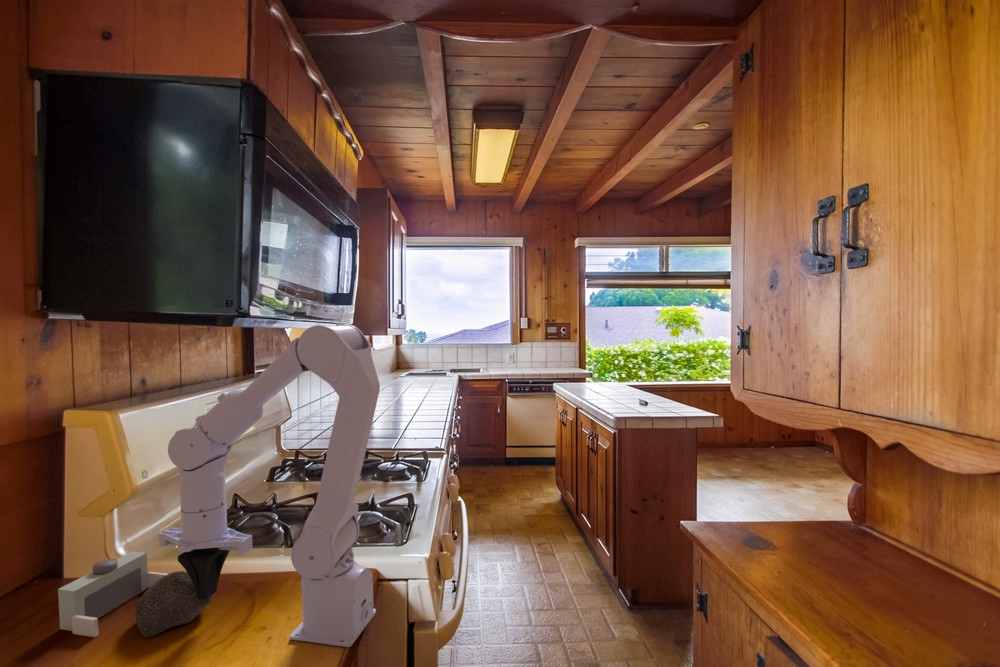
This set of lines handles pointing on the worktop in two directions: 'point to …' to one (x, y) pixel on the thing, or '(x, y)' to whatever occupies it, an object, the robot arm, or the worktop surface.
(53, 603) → the worktop surface
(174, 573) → the stone
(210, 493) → the robot arm
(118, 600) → the digital alarm clock
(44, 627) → the worktop surface
